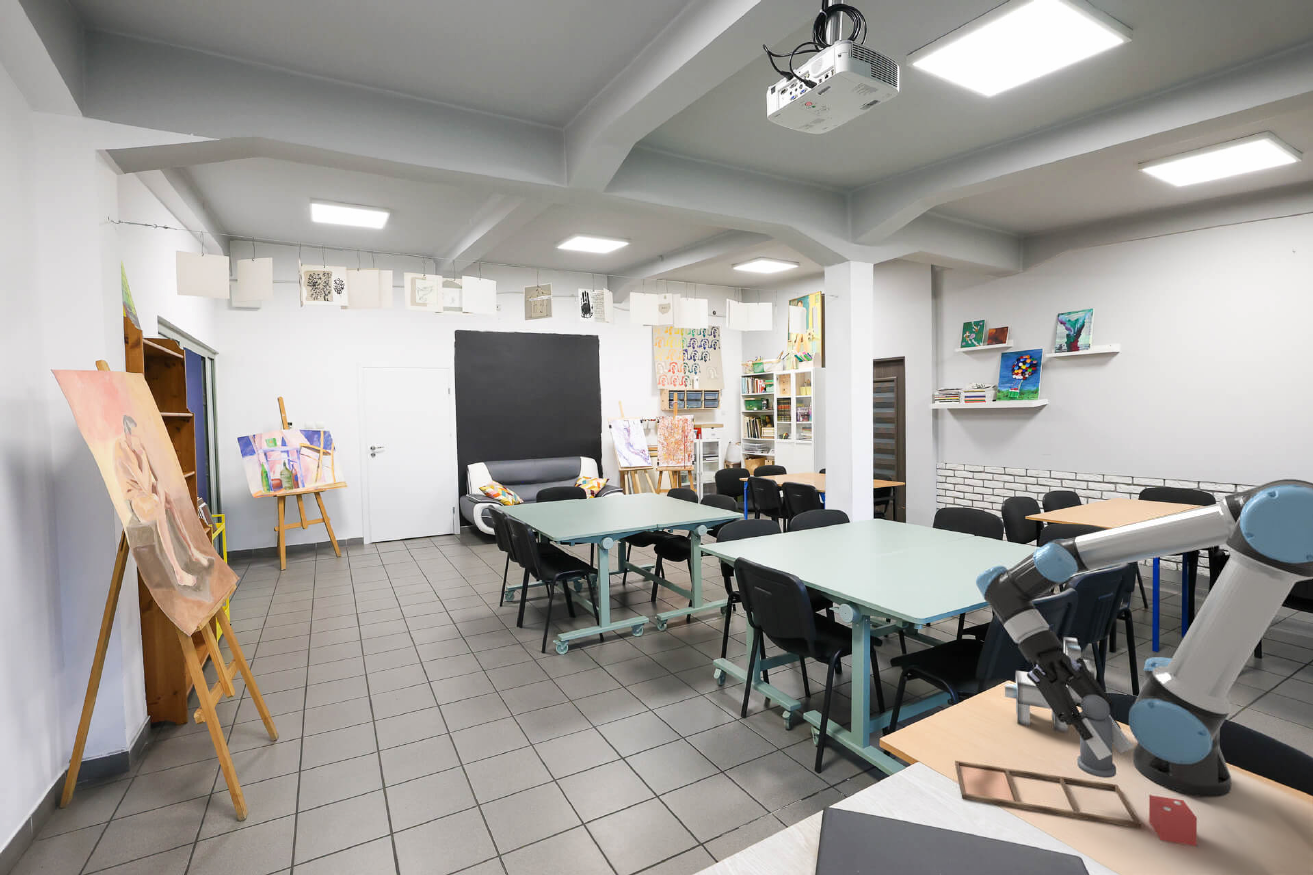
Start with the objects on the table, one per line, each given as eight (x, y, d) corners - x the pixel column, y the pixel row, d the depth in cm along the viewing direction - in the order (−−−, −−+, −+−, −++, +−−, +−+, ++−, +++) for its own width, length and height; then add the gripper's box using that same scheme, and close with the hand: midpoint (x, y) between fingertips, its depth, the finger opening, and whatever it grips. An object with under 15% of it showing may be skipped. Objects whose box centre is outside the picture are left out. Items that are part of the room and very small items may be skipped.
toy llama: (1004, 707, 155) (1004, 629, 154) (1088, 722, 147) (1088, 639, 146) (1005, 721, 148) (1005, 640, 147) (1094, 737, 140) (1094, 651, 139)
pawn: (1109, 762, 119) (1108, 690, 119) (1121, 779, 114) (1119, 704, 113) (1073, 757, 121) (1071, 687, 121) (1082, 774, 116) (1081, 701, 115)
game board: (1117, 788, 122) (1117, 784, 122) (1141, 828, 111) (1141, 823, 110) (955, 764, 132) (955, 760, 132) (962, 798, 120) (962, 794, 120)
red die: (1183, 826, 110) (1183, 799, 110) (1196, 846, 106) (1196, 817, 106) (1149, 821, 112) (1149, 794, 112) (1160, 839, 107) (1161, 811, 107)
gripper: (1053, 638, 134) (1135, 749, 119) (990, 652, 129) (1067, 771, 114) (1076, 621, 129) (1164, 735, 114) (1011, 635, 123) (1095, 757, 108)
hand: (1116, 753), depth 114 cm, fingers closed on pawn, 5 cm apart
